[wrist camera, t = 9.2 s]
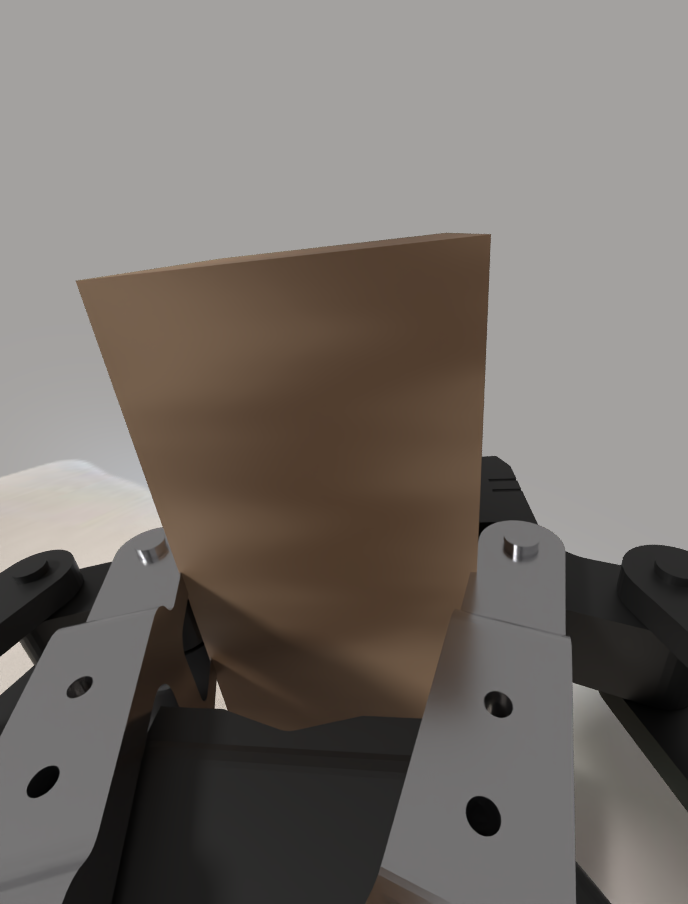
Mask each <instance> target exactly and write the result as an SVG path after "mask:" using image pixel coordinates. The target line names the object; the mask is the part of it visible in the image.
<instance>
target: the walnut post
mask: <svg viewBox="0 0 688 904" xmlns="http://www.w3.org/2000/svg"><path fill="white" fill-rule="evenodd" d="M490 243H491V234H464V233H441V234H433V235H424V236H415V237H406V238H397V239H388V240H379V241H371V242H363V243H354V244H344V245H336V246H327V247H318V248H309V249H301V250H293V251H283V252H274V253H266V254H257V255H248V256H239V257H231V258H222V259H215V260H209V261H202V262H195V263H189V264H183V265H176V266H170V267H163V268H156V269H150V270H143V271H137V272H130V273H124V274H117V275H110V276H105V277H97V278H91V279H84V280H78V281H76V283H77V286H78V289H79V292H80V294H81V297H82V300H83V303H84V306H85V309H86V311H87V314H88V317H89V320H90V323H91V325H92V328H93V331H94V334H95V337H96V340H97V342H98V345H99V348H100V351H101V354H102V357H103V359H104V362H105V365H106V367H107V371H108V373H109V376H110V379H111V382H112V385H113V388H114V390H115V393H116V396H117V399H118V401H119V404H120V407H121V410H122V413H123V416H124V419H125V422H126V424H127V427H128V430H129V433H130V436H131V438H132V441H133V444H134V447H135V450H136V452H137V455H138V458H139V461H140V464H141V466H142V470H143V472H144V475H145V478H146V481H147V484H148V486H149V489H150V492H151V495H152V498H153V501H154V503H155V506H156V509H157V512H158V515H159V518H160V520H161V523H162V526H163V529H164V532H165V534H166V537H167V540H168V543H169V546H170V549H171V551H172V554H173V557H174V560H175V563H176V566H177V568H178V571H179V572H181V574H182V576H183V579H184V582H185V585H186V588H187V591H188V593H189V595H188V599H189V602H190V605H191V608H192V611H193V614H194V616H195V619H196V622H197V625H198V628H199V630H200V633H201V636H202V639H203V642H204V645H205V647H206V650H207V653H208V656H209V657H210V658H211V659H212V662H213V665H214V667H215V670H216V673H217V681H218V684H219V687H220V690H221V693H222V695H223V698H224V701H225V704H226V707H227V710H228V711H230V712H232V713H235V714H238V715H241V716H243V717H246V718H249V719H252V720H255V721H257V722H260V723H263V724H266V725H269V726H271V727H274V728H277V729H280V730H284V731H294V730H299V729H304V728H308V727H313V726H317V725H322V724H327V723H331V722H336V721H341V720H345V719H350V718H355V717H359V716H379V717H400V718H423V714H424V711H425V707H426V704H427V700H428V696H429V693H430V689H431V686H432V682H433V679H434V675H435V671H436V668H437V664H438V661H439V657H440V654H441V650H442V646H443V643H444V639H445V636H446V632H447V629H448V625H449V622H450V618H451V615H452V613H453V611H454V609H459V610H460V609H461V606H462V602H463V598H464V595H465V591H466V587H467V583H468V579H469V575H470V572H477V557H478V533H479V509H480V485H481V461H482V437H483V436H482V435H483V410H484V388H485V387H484V386H485V364H486V362H485V361H486V340H487V315H488V291H489V267H490Z"/></svg>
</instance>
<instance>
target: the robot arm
mask: <svg viewBox="0 0 688 904" xmlns="http://www.w3.org/2000/svg"><path fill="white" fill-rule="evenodd" d="M188 595H189V593H188V591H187V588H186V585H185V582H184V579H183V576H182V574H181V572H179V571H178V568H177V566H176V563H175V560H174V557H173V554H172V551H171V549H170V546H169V543H168V540H167V537H166V534H165V532H164V529H163V527H161V528H156V529H152V530H149V531H146V532H144V533H141V534H139V535H137V536H135V537H133V538H132V539H130V540H129V541H127V542H126V543H125V544H124V545H123V546H122V547H121V548H120V549H119V550H118V551H117V553H116V555H115V557H114V559H113V561H112V562H109V563H104V564H100V565H95V566H91V567H86V568H82V569H79V567H78V565H77V563H76V561H75V559H74V557H73V555H72V554H71V553H70V552H68V551H65V550H50V551H45V552H41V553H38V554H35V555H32V556H30V557H27V558H25V559H23V560H21V561H19V562H17V563H15V564H14V565H12V566H11V567H9V568H7V569H6V570H4V571H3V572H1V573H0V656H2V655H3V654H4V653H5V652H7V651H8V650H9V649H10V648H11V647H13V646H14V645H15V644H16V643H18V642H20V643H21V645H22V646H23V648H24V650H25V651H26V653H27V654H28V656H29V658H30V659H31V661H32V662H33V664H34V666H33V667H32V668H31V669H30V670H29V671H27V672H26V673H25V674H24V675H23V676H22V677H21V678H19V679H18V680H17V681H16V682H15V683H14V684H13V685H11V686H10V687H9V688H8V689H7V690H6V691H5V692H4V693H2V694H1V695H0V904H611V903H610V902H609V900H608V899H607V898H606V897H605V896H604V894H603V893H602V892H601V891H600V890H599V888H598V887H597V886H596V885H595V884H594V882H593V881H592V880H591V879H590V878H589V876H588V875H587V874H586V873H585V872H584V870H583V869H582V868H581V867H580V866H579V864H578V863H577V862H576V861H575V811H574V751H573V691H572V682H573V683H576V684H579V685H582V686H586V687H589V688H592V689H595V690H598V691H599V693H600V695H601V697H602V698H603V700H604V701H605V703H606V704H607V705H608V707H609V708H610V709H611V710H612V712H613V713H614V714H615V716H616V717H617V718H618V720H619V721H620V722H621V724H622V725H623V726H624V728H625V729H626V730H627V732H628V733H629V734H630V736H631V737H632V738H633V740H634V741H635V742H636V744H637V745H638V746H639V748H640V749H641V750H642V752H643V753H644V754H645V756H646V757H647V758H648V760H649V761H650V762H651V764H652V765H653V766H654V768H655V769H656V770H657V772H658V773H659V774H660V776H661V777H662V778H663V780H664V781H665V782H666V784H667V785H668V786H669V788H670V789H671V790H672V792H673V793H674V794H675V796H676V797H677V798H678V800H679V801H680V802H681V804H682V805H683V806H684V808H685V809H686V810H687V812H688V551H686V550H683V549H679V548H675V547H670V546H664V545H644V546H639V547H635V548H633V549H631V550H629V551H628V552H627V553H626V554H625V555H624V557H623V560H622V565H616V564H611V563H606V562H601V561H596V560H591V559H587V558H582V557H579V556H576V555H573V554H571V553H568V552H566V551H565V547H564V545H563V542H562V541H561V540H560V538H559V537H557V535H555V534H554V533H553V532H551V531H550V530H548V529H546V528H544V527H542V526H539V525H538V524H537V521H536V520H535V517H534V515H533V513H532V511H531V509H530V507H529V505H528V503H527V500H526V498H525V496H524V494H523V492H522V491H521V488H520V486H519V483H518V481H516V477H515V475H514V473H513V471H512V469H511V467H510V466H509V465H508V464H507V463H505V462H504V461H502V460H501V459H500V458H498V457H497V456H489V457H488V456H487V457H482V461H481V485H480V509H479V533H478V557H477V572H470V575H469V579H468V583H467V587H466V591H465V595H464V598H463V602H462V606H461V609H460V610H459V609H454V611H453V613H452V615H451V618H450V622H449V625H448V629H447V632H446V636H445V639H444V643H443V646H442V650H441V654H440V657H439V661H438V664H437V668H436V671H435V675H434V679H433V682H432V686H431V689H430V693H429V696H428V700H427V704H426V707H425V711H424V714H423V718H400V717H379V716H359V717H355V718H350V719H345V720H341V721H336V722H331V723H327V724H322V725H317V726H313V727H308V728H304V729H299V730H294V731H284V730H280V729H277V728H274V727H271V726H269V725H266V724H263V723H260V722H257V721H255V720H252V719H249V718H246V717H243V716H241V715H238V714H235V713H232V712H230V711H227V710H224V709H214V708H215V694H216V681H217V673H216V670H215V667H214V665H213V662H212V659H211V658H210V657H209V656H208V653H207V650H206V647H205V645H204V642H203V639H202V636H201V633H200V630H199V628H198V625H197V622H196V619H195V616H194V614H193V611H192V608H191V605H190V602H189V599H188Z"/></svg>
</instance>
